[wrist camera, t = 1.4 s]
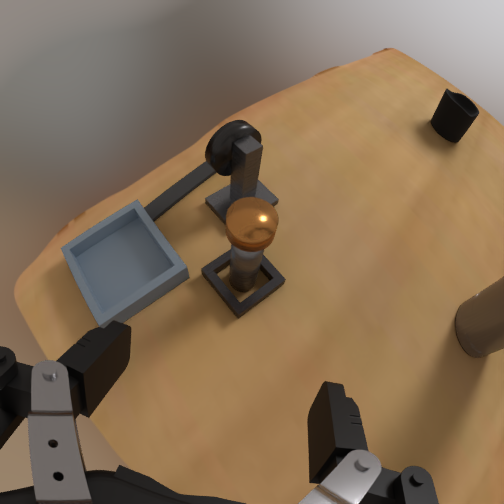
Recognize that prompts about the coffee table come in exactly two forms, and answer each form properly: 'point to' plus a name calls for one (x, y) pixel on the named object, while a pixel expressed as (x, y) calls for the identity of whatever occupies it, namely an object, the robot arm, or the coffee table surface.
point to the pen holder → (454, 116)
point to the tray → (123, 264)
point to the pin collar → (225, 293)
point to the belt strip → (179, 191)
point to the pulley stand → (236, 166)
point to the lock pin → (249, 238)
